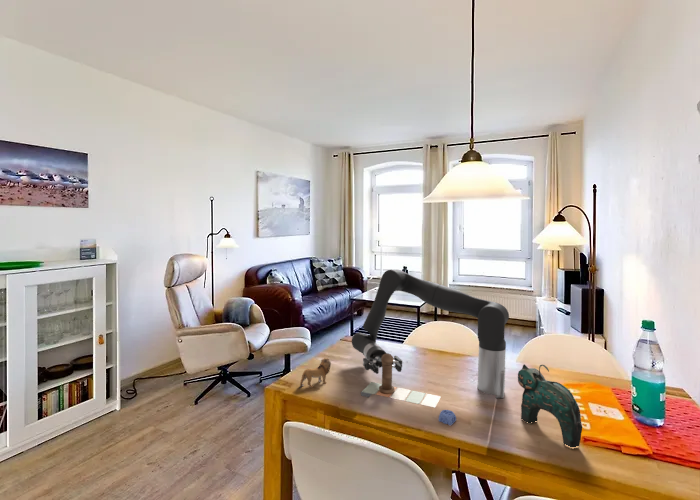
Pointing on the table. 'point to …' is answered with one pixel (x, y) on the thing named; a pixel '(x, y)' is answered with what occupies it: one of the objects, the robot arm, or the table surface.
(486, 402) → the table surface
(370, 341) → the robot arm
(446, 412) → the decorative dice
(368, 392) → the game board
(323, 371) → the lion figurine
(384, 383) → the pawn
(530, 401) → the ceramic cat
